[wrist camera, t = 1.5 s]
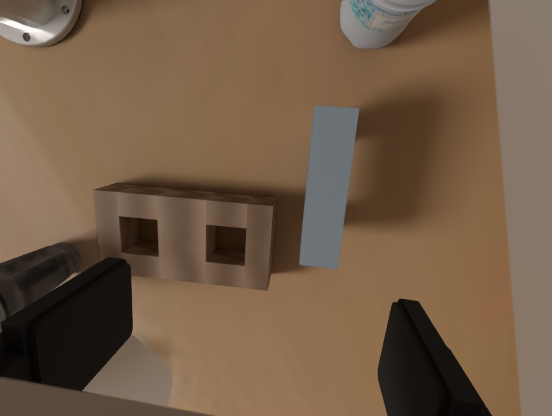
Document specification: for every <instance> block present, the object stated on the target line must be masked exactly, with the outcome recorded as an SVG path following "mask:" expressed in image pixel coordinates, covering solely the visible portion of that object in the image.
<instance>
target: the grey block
mask: <svg viewBox="0 0 552 416" xmlns="http://www.w3.org/2000/svg"><path fill="white" fill-rule="evenodd" d="M358 115H359V108H346V107H330V106H315V107H314V111H313V121H312V132H311V142H310V152H309V163H308V173H307V183H306V194H305V204H304V214H303V224H302V235H301V245H300V262H299V265H304V266H313V267H323V268H332V269H338V262H339V255H340V247H341V240H342V233H343V225H344V218H345V210H346V203H347V196H348V188H349V181H350V174H351V166H352V159H353V151H354V144H355V137H356V129H357V122H358Z"/></svg>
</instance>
